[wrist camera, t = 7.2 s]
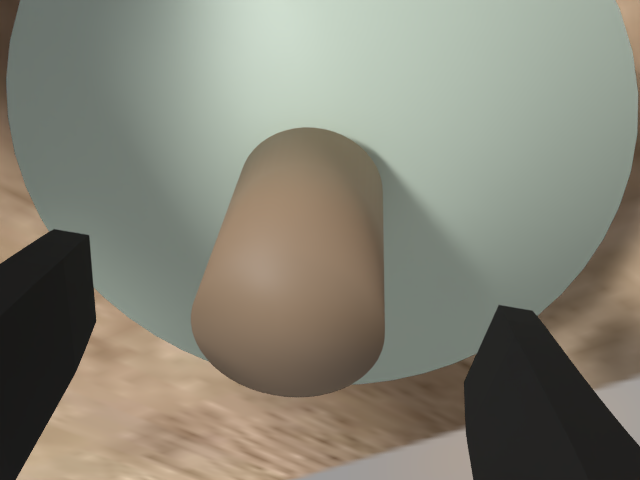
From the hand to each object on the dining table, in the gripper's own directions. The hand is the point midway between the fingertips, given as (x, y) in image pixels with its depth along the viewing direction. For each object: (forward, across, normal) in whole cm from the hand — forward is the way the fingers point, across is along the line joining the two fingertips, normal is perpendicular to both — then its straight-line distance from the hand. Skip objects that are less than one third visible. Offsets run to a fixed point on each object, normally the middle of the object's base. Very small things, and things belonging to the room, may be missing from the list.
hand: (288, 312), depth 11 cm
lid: (+5, 0, 0) cm, 5 cm away
